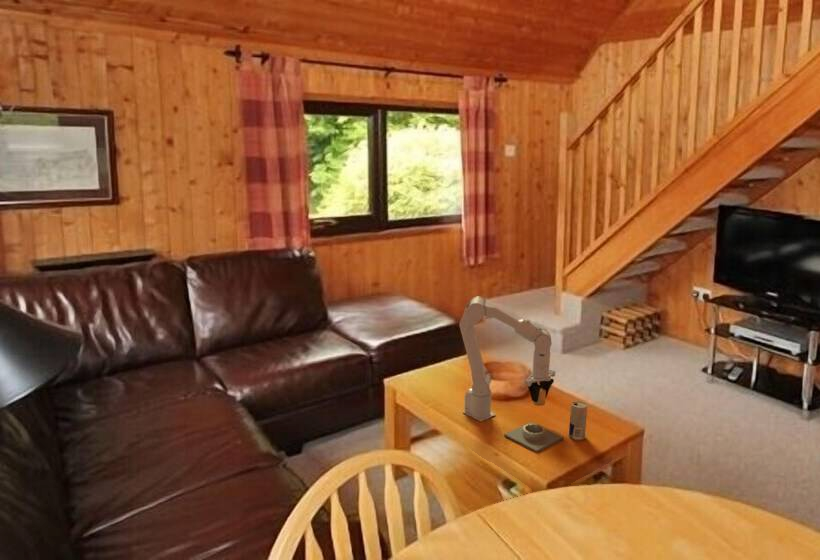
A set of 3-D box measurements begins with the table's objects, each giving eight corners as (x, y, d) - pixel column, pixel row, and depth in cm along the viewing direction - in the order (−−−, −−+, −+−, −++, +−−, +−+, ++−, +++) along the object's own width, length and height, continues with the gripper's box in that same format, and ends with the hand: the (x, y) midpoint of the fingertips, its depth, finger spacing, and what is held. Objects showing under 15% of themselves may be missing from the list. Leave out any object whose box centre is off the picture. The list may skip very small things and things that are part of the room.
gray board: (504, 436, 203) (504, 433, 203) (530, 423, 212) (530, 421, 212) (536, 452, 193) (536, 450, 193) (563, 439, 201) (563, 436, 201)
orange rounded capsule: (529, 402, 213) (530, 389, 212) (537, 399, 216) (538, 386, 214) (539, 406, 210) (540, 393, 208) (547, 403, 212) (548, 390, 211)
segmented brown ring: (518, 434, 203) (518, 428, 202) (532, 428, 207) (532, 421, 207) (535, 443, 197) (535, 436, 196) (549, 436, 202) (549, 429, 201)
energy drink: (572, 431, 207) (575, 399, 204) (587, 436, 203) (590, 404, 200) (566, 437, 203) (568, 405, 200) (581, 442, 199) (583, 409, 196)
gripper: (537, 372, 202) (534, 408, 205) (563, 362, 210) (560, 397, 214) (520, 366, 207) (519, 401, 210) (547, 356, 216) (544, 391, 219)
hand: (538, 399), depth 212 cm, fingers closed on orange rounded capsule, 4 cm apart
